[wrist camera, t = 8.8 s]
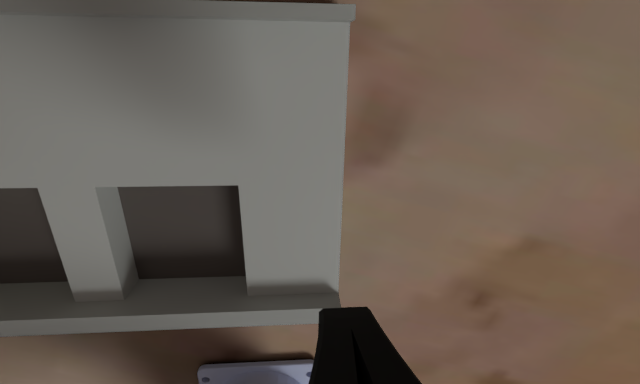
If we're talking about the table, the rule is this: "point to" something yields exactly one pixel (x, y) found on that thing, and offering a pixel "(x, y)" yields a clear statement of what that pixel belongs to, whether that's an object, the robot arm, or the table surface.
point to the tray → (170, 163)
